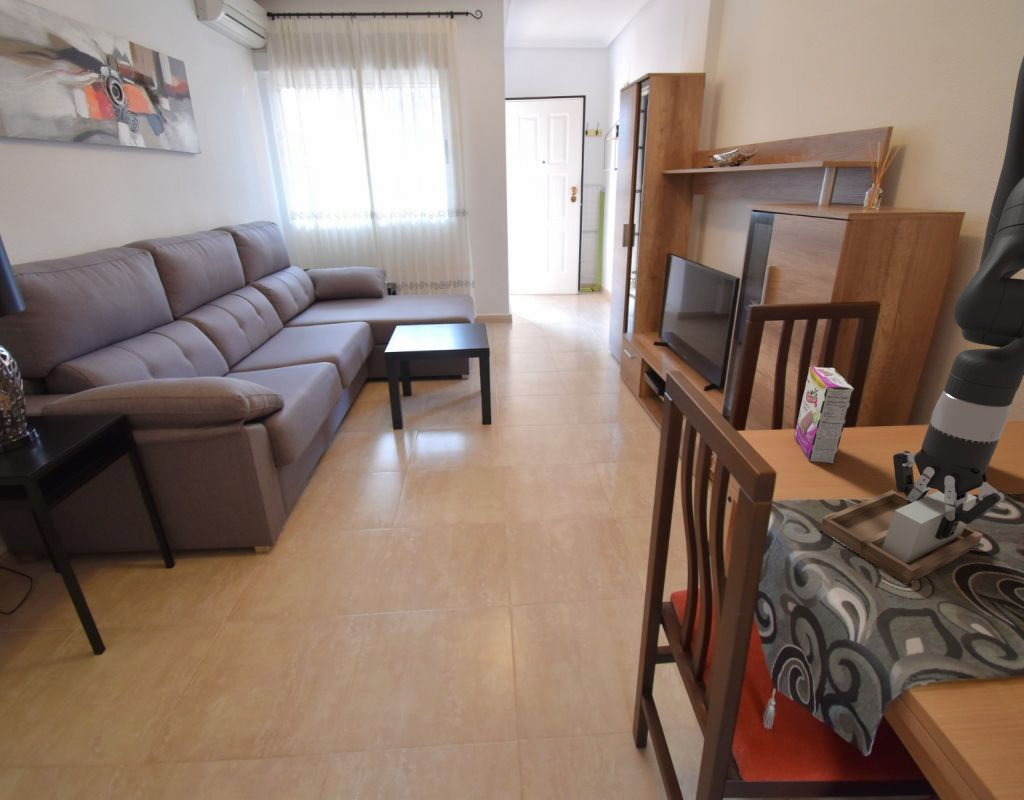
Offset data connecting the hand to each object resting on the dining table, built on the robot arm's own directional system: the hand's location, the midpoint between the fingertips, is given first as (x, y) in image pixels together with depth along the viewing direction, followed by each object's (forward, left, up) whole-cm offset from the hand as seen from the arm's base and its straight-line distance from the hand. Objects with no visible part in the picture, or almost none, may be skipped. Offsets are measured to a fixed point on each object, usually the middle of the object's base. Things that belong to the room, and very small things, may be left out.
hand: (925, 528), depth 79 cm
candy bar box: (-14, -28, -4) cm, 32 cm away
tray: (0, -3, -4) cm, 5 cm away
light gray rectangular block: (0, 0, -3) cm, 3 cm away
